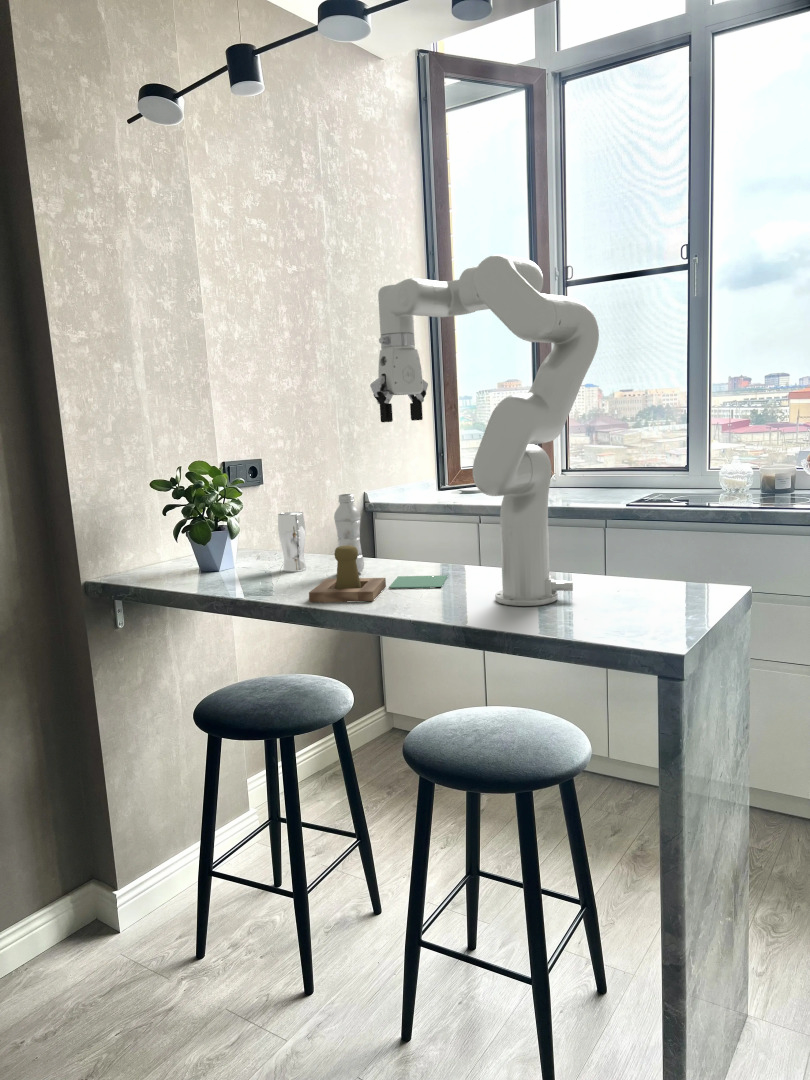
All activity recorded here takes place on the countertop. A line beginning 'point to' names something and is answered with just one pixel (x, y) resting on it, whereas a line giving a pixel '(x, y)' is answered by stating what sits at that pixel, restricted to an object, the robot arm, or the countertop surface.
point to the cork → (347, 567)
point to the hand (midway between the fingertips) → (402, 421)
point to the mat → (418, 581)
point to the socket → (347, 591)
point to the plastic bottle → (349, 526)
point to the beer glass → (292, 540)
